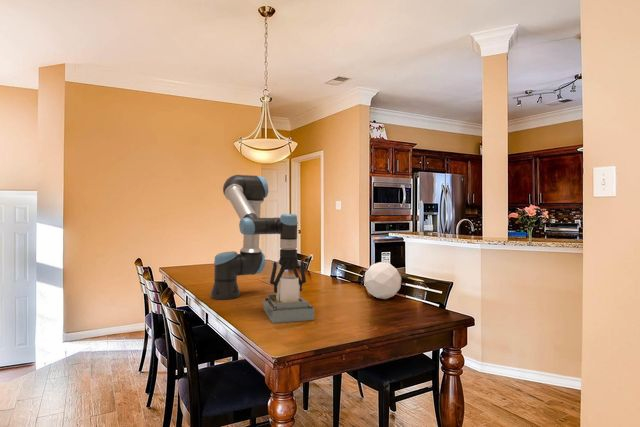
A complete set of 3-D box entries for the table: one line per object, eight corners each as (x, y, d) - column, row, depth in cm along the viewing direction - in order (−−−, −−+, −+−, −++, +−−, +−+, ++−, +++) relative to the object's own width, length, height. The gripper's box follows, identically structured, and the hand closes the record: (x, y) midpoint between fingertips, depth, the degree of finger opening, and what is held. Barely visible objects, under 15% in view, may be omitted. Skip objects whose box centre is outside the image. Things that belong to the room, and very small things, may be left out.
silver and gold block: (263, 309, 183) (263, 293, 183) (301, 307, 188) (301, 291, 188) (272, 323, 162) (272, 305, 162) (314, 319, 167) (314, 302, 167)
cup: (290, 303, 168) (290, 280, 168) (269, 299, 175) (269, 276, 175) (302, 300, 175) (302, 277, 175) (281, 296, 182) (282, 274, 182)
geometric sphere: (382, 308, 216) (393, 276, 225) (401, 303, 198) (412, 268, 207) (353, 291, 213) (365, 260, 222) (369, 285, 196) (382, 251, 205)
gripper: (265, 250, 168) (265, 302, 168) (314, 249, 174) (313, 299, 175) (263, 248, 175) (262, 298, 176) (309, 247, 182) (308, 296, 182)
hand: (287, 299), depth 175 cm, fingers closed on cup, 9 cm apart
